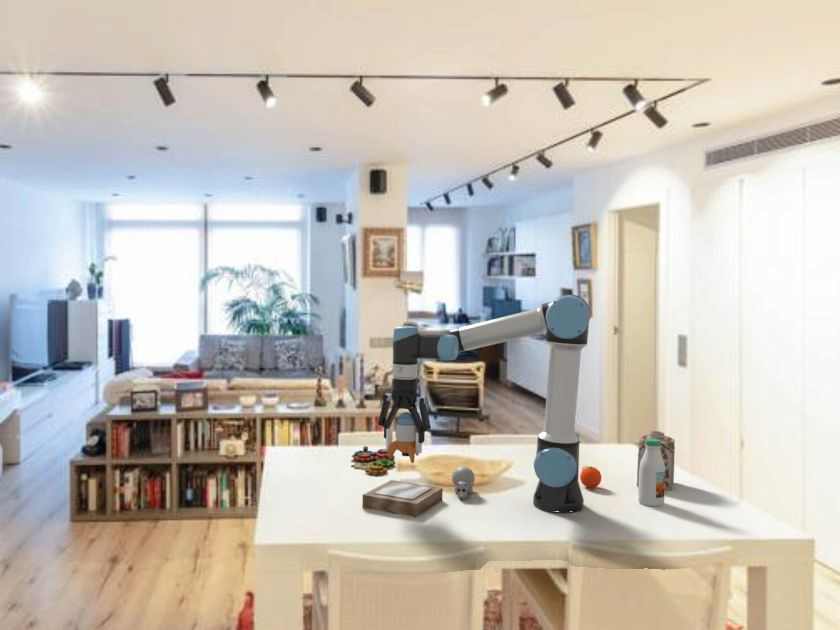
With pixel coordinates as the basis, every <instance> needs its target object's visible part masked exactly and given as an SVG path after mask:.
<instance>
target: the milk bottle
mask: <svg viewBox="0 0 840 630" xmlns="http://www.w3.org/2000/svg"><path fill="white" fill-rule="evenodd" d="M645 444H646V445H645V446H646V450H645V453H644V455H643V457H642V459H641V462H640V468H639V487H638V495H637V496H638V497H637V500H638V503H640V505H644V506H647V507H662V506H664V504H665V493H666V492H665V491H666V490H665V464H664V461H663V458H662V456H661V453H660V447H661V440H659V439H654V438H648V439H646V440H645Z"/></svg>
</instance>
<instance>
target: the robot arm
mask: <svg viewBox="0 0 840 630" xmlns="http://www.w3.org/2000/svg"><path fill="white" fill-rule="evenodd" d="M591 315H592V314H591V309H590V306H589V304H588V302H587V301H586V300H585V298H583V297H582V296H579V295H576V294H569V293H568V294H563V295H560V296H558V297H555V299H554V300H552V301H547V302H545V303H541V304H540V305H539V307H537V308H534V309H530V310H527V311H522V312H518V313H514V314H509V315H506V316H502V317H498V318H494V319H489V320H486V321H481V322H478V323H472V324H470V325H465V326H461V327H457V328H453V329H448V330H447V329H446V330H444V331H442V332H438V333H421V332H420V331H419V328H418V327H417V326H410V325H399V326H396V327H394V329H393V339H392V376H393V378H392V380H391V381H392V385H391V386H392V388H391V389H392V392H391V393H384V394H383V395H382V406H381V410H380V414H379V418H378V421H377V422H378V423H377V424H378V426H380V427H383V438H384V439H385V449H386V450H388V447H389V446H390V444H391V443H392V442H393V438H394V437H393V436H394V435H393V434H394V433H393V431H394V430H393V429H394V428H393V426H392V423H393V422H394V420H395V417H396V416H397V414H398V412H399V410H400V409H405V410H408V411H407V412H410V413H411V415H412V418H413V420H414V422H415V425H416V427H417V429H418V432H416V454H421V453H423V452H422V450H423V447H422V446H423V443H424V442H425V433H426V432H427V431H429V430H431V429H432V427H431V422H430V421H431V420H430V417H429V416H430V415H429V411H428V408H427V400H428V399H427V397H426V396H423V397H422V396H419V395H418V379H417V377H418V376H419V375H418V373H419V372H418V363H419V362H418V360H419V359H420V360H421V359H423V360H438V361H440V360H441V361H454V360H456V359H457V357H458V354H459V353H463V352H466V351H472V350H474V349H475V350H476V349H479V348H483V347H488V346H493V345H496V344H502V343H505V342H511V341H514V340H518V339H522V338H527V337H531V336H536V335H540V334H545V343H547V345H548V346H549V361H548V362H549V363H548V373H547V384H546V387H547V388H546V397H545V407H544V408H545V409H544V411H545V413H544V423H543V430H542V431H540V432H539V433H538V434H537V441H536V454H535V457H534V461H533V469H534V472H535V475H536V478H538V482H537V486H536V487H535V491H534V493H533V496H532V497H533V498H532V499H533V500H532V501H533V502H532V504H533V506H534V507H536V508H537V509H540V510H542V509H543V510H542V511H546V510H548V511H547V512H551V511H559V512H558V513H560V512H568V513H571V512H570V511H576V512H579V511H582V510H583V509H584V506H585V505H584V503H585V501H584V497H583V492H582V489H581V485H580V483H579V474H580V473H579V469H580V468H579V466H580V443H581V440H580V434H579V433H578V432H577V431H575V427H576V426H575V424H576V415H577V401H578V389H579V381H580V380H579V379H580V378H579V377H580V370H581V369H580V367H581V355H582V354H581V353H582V350H583V348H585V347H586V346H588V339H589V326H590V321H591V317H592V316H591ZM391 401H393V404H392V406H391V410H390V412H389V409H390V404H391ZM416 403H417V404H418V406H417V404H416ZM417 407H419V411H418V408H417ZM419 412H420V413H419ZM416 454H415V455H416ZM582 508H583V509H582ZM578 510H579V511H578Z"/></svg>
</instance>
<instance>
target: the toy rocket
mask: <svg viewBox="0 0 840 630" xmlns="http://www.w3.org/2000/svg"><path fill="white" fill-rule="evenodd" d="M416 432H418V429H417V427H416V425H415V422H414V420H413V418H412V415H411V413H410V412H409V411H404V412H402V413H400V414H399V416H398V417H397V420H396V423H395V440H394V441H392V443H391V444H390V446H389V447H388V457H389V458H391V457H392V455H393V456H394V454H395V453H396V451H399V452H400V453H401V456H402V457H409V460H410V463H412V464H414V463H415V456H416V457H417V456H419V454H416Z"/></svg>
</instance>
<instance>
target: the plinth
mask: <svg viewBox="0 0 840 630" xmlns="http://www.w3.org/2000/svg"><path fill="white" fill-rule="evenodd" d="M442 501H443V487H439V486H433V485H428V484H427V485H425V484H419V483H414V482H413V483H412V482H407V481H401V480H395V479H390V480H388V481H386V482H385V483H383V484H381V485H379V486H377V487H375V488H373V489H371V490H369V491H368V492H365V493H363V494H362V507H361V508H362V509H367V510H372V511H378V512H384V513H387V514H394V515H399V514H401V515H400V516H405V515H406V517H410V516H412V517H413V518H416V517H417V518H418V517H420V516H421V515H423V514H424V513H426V512H427V511H428V510H430V509H433V507H435V506H436V505H438V504H439V503H441V502H442ZM422 513H423V514H422ZM419 515H420V516H419Z"/></svg>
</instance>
